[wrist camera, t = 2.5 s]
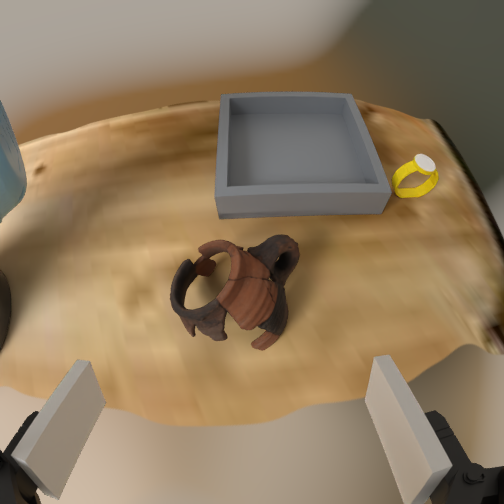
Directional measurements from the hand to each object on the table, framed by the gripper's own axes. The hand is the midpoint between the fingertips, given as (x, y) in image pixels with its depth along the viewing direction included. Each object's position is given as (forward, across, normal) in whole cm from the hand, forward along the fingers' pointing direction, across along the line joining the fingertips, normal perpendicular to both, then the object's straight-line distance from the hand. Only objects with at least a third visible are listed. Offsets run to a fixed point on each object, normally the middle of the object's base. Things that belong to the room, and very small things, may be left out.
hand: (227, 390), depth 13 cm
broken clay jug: (+17, 0, -4) cm, 17 cm away
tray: (+30, +7, +10) cm, 32 cm away
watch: (+26, +21, +5) cm, 33 cm away
